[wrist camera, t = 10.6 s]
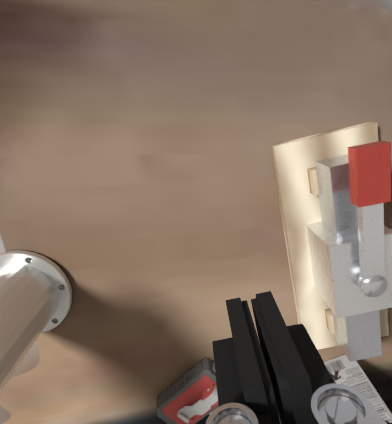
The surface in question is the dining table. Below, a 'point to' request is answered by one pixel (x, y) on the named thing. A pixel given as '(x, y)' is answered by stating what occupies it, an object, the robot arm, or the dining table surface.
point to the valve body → (345, 264)
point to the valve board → (312, 218)
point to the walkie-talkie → (190, 396)
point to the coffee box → (357, 382)
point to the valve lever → (370, 210)
